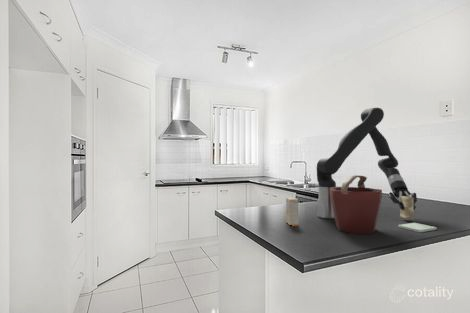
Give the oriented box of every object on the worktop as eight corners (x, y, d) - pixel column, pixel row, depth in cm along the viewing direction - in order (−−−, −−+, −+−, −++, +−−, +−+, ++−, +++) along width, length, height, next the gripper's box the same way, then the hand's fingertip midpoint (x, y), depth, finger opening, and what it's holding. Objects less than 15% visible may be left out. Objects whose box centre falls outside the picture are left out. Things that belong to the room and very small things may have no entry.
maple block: (404, 218, 135) (404, 197, 135) (400, 216, 140) (399, 196, 140) (413, 218, 135) (413, 197, 135) (409, 216, 139) (408, 196, 139)
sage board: (419, 232, 115) (419, 230, 115) (398, 227, 124) (398, 225, 124) (436, 229, 119) (436, 227, 119) (414, 224, 129) (414, 222, 129)
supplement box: (298, 226, 127) (298, 199, 127) (289, 226, 127) (288, 199, 127) (295, 222, 135) (295, 197, 135) (286, 222, 135) (285, 197, 135)
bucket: (353, 221, 136) (352, 173, 137) (396, 231, 117) (395, 176, 117) (320, 227, 124) (319, 175, 125) (362, 239, 105) (361, 178, 105)
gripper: (385, 179, 146) (396, 204, 134) (413, 180, 144) (426, 205, 132) (381, 188, 151) (391, 213, 139) (408, 188, 149) (420, 213, 137)
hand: (408, 209), depth 135 cm, fingers closed on maple block, 4 cm apart
